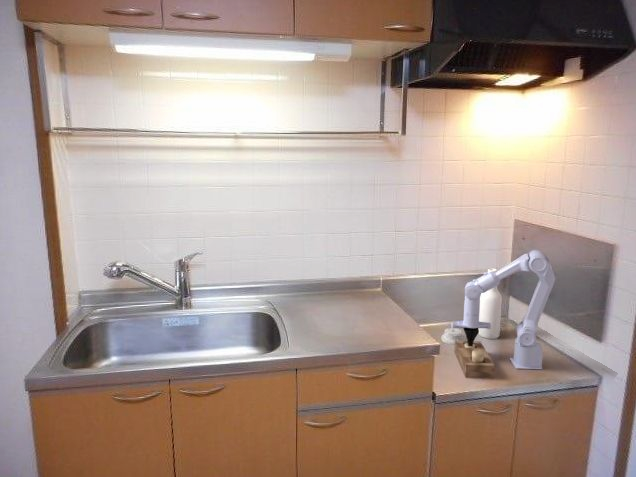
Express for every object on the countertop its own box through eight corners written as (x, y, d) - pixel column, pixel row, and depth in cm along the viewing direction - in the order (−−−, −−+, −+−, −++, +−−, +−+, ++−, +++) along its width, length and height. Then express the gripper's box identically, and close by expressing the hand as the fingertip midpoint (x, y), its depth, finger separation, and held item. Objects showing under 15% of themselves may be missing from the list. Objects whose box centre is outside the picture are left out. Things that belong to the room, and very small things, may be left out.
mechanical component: (469, 339, 197) (447, 333, 203) (469, 329, 196) (447, 324, 202) (459, 347, 189) (437, 341, 195) (460, 337, 188) (437, 331, 194)
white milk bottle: (484, 329, 206) (487, 265, 199) (503, 335, 199) (507, 269, 193) (474, 335, 200) (477, 269, 193) (493, 341, 194) (497, 273, 187)
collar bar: (479, 352, 184) (480, 341, 183) (493, 378, 164) (494, 365, 163) (454, 352, 185) (454, 340, 184) (465, 377, 165) (466, 364, 164)
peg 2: (481, 361, 170) (482, 350, 169) (484, 367, 166) (485, 355, 165) (470, 361, 170) (471, 349, 169) (473, 366, 166) (473, 354, 165)
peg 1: (473, 354, 182) (473, 342, 181) (475, 358, 178) (476, 347, 177) (463, 353, 182) (463, 342, 181) (465, 358, 179) (465, 347, 178)
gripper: (488, 309, 180) (486, 341, 182) (450, 308, 181) (449, 340, 184) (493, 315, 173) (491, 349, 176) (454, 315, 174) (452, 348, 177)
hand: (469, 345), depth 179 cm, fingers closed, pressing on peg 1
